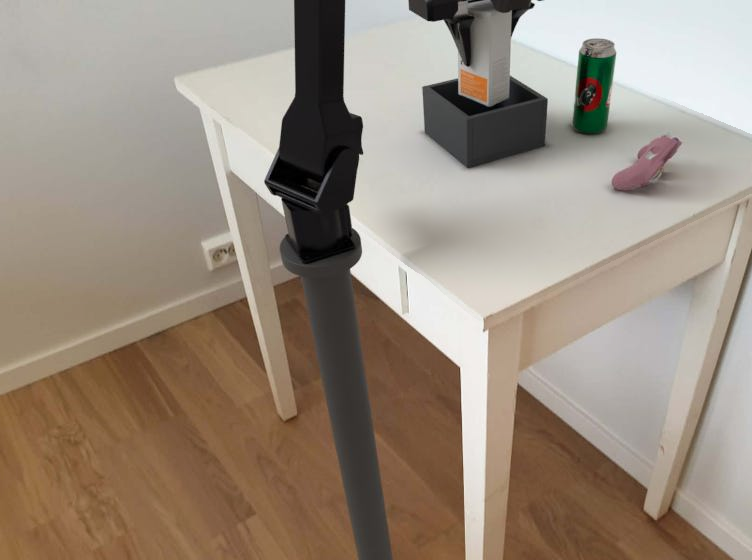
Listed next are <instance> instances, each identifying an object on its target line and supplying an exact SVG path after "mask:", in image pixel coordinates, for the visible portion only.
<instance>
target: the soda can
mask: <svg viewBox="0 0 752 560" xmlns="http://www.w3.org/2000/svg"><path fill="white" fill-rule="evenodd" d="M615 47H616V46H615V42H614V41H612V40H610V39H607V38H601V37H600V38H599V37H598V38H597V37H596V38H594V37H593V38H588V39H585V40H583V41H582V46H581V47H580V48H579V50H578V58H577V67H576V68H577V69H576V77H575V78H576V80H575V91H574V99H573V100H574V103H573V113H572V123H571V124H572V126H573V128H574V129H575V131H577V132H578V133H581V134H585V135H598V134H601V133H602V132H604V131H605V130H606V129H607V128H608V123H609V115H610V107H611V100H612V92H613V83H614V77H615V67H616V60H617V50H616V48H615Z"/></svg>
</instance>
